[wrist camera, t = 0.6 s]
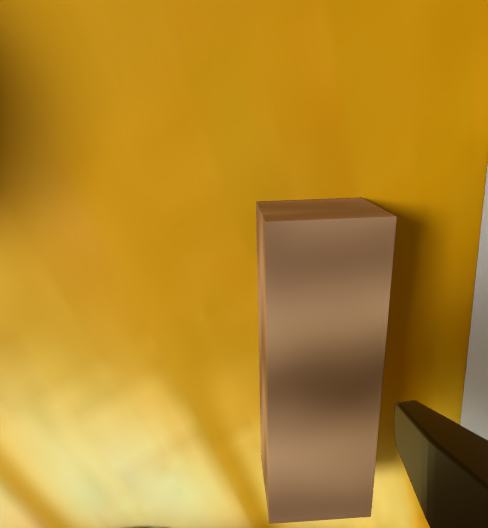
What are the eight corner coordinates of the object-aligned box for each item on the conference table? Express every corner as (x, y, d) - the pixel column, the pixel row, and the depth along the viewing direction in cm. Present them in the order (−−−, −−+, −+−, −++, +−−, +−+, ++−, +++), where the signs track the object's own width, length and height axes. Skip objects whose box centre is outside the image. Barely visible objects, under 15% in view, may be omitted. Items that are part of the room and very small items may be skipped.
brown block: (345, 449, 25) (370, 516, 21) (261, 455, 25) (269, 523, 21) (359, 196, 20) (396, 216, 16) (255, 200, 20) (265, 222, 16)
